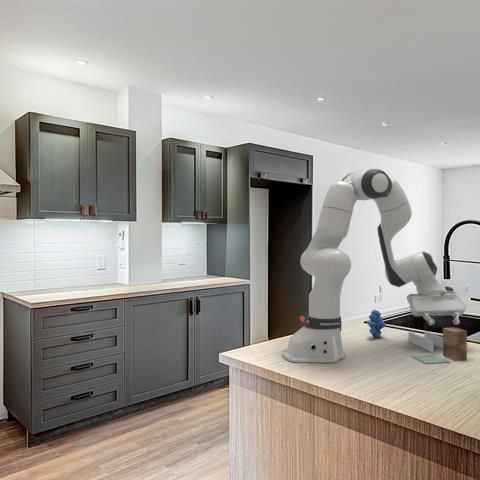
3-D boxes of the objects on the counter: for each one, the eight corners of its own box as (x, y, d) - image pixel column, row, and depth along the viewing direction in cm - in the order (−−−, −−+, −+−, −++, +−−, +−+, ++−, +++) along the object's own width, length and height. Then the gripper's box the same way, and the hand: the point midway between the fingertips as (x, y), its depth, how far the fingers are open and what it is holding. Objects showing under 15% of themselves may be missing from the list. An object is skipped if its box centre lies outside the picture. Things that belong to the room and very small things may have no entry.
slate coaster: (425, 364, 146) (425, 363, 146) (410, 356, 155) (410, 355, 155) (449, 362, 147) (449, 361, 147) (433, 355, 156) (433, 354, 156)
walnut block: (453, 360, 150) (453, 331, 150) (442, 355, 156) (443, 328, 156) (466, 359, 151) (466, 331, 151) (455, 355, 157) (455, 327, 156)
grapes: (381, 342, 176) (381, 312, 175) (364, 339, 180) (364, 310, 179) (390, 336, 185) (390, 308, 185) (374, 334, 189) (374, 306, 189)
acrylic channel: (432, 352, 160) (432, 341, 160) (408, 341, 176) (408, 331, 176) (451, 351, 161) (451, 340, 161) (425, 340, 177) (425, 330, 177)
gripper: (407, 289, 166) (420, 320, 156) (458, 288, 168) (474, 318, 158) (402, 299, 171) (414, 329, 161) (452, 297, 172) (467, 327, 163)
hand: (444, 324), depth 160 cm, fingers open, 8 cm apart
